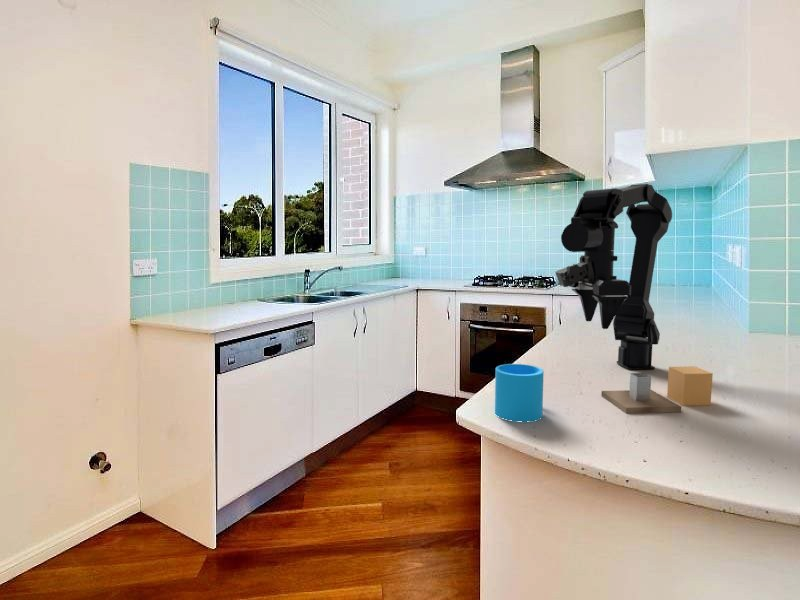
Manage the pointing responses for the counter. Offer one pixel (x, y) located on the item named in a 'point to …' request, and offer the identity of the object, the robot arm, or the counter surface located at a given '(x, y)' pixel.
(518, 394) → the mug
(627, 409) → the walnut base
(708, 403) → the tan wooden cube
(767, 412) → the counter surface
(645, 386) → the grey concrete cube
